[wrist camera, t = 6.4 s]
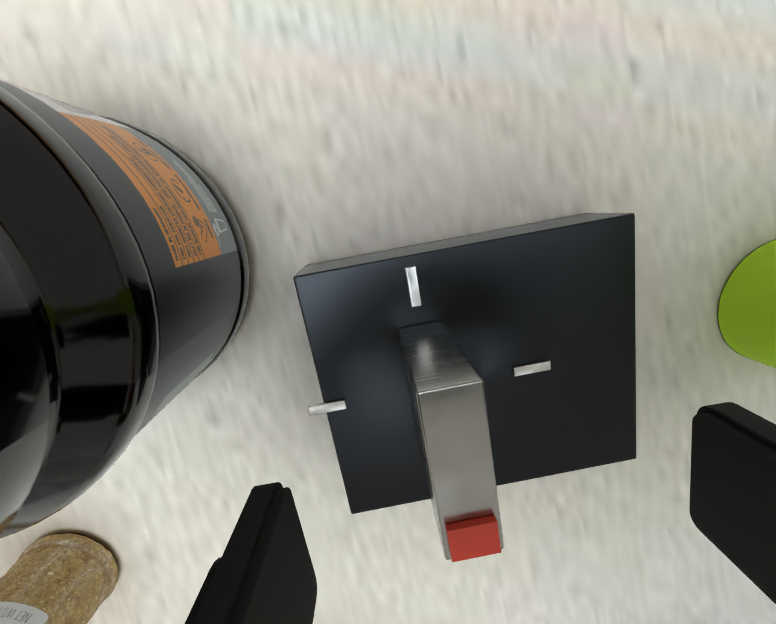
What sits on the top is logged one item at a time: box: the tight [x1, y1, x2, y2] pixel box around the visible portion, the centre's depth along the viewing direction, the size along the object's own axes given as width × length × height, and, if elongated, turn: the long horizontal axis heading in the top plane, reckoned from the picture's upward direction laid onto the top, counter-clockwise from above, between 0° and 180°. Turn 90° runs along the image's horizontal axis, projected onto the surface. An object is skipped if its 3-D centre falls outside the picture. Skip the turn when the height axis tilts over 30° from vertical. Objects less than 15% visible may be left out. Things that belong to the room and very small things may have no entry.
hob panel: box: [294, 213, 636, 514], centre depth 16 cm, size 13×10×3 cm
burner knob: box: [398, 321, 504, 562], centre depth 12 cm, size 5×2×5 cm, turn 10°
